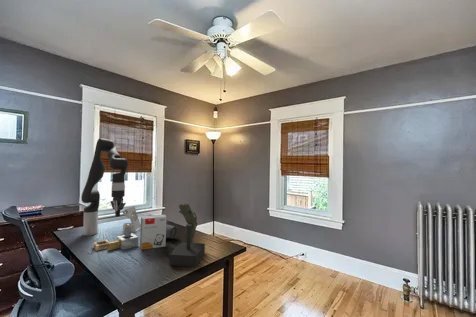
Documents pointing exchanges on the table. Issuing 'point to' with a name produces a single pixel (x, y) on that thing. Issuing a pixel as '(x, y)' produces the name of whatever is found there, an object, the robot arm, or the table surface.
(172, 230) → the bluetooth speaker
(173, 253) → the joystick
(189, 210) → the olive green upright piece
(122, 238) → the socket block
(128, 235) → the grey metal cylinder
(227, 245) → the table surface
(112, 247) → the bar
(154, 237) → the hard drive box
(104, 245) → the wooden square frame
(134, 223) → the phone holder
